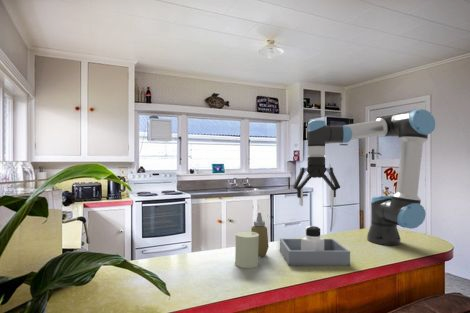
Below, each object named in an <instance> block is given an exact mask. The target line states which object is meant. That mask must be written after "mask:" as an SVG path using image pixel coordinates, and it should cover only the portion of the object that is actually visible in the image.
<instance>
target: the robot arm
mask: <svg viewBox="0 0 470 313" xmlns="http://www.w3.org/2000/svg"><path fill="white" fill-rule="evenodd" d="M306 127H307V131H306V132H307V167H302V166H301V167H299V168H300V169H299V174H298V175H297V178H296V180H295V181H294V183H293V185H292V189H295V190H296V194H297V195H296V197H297V198H298V200H299V204H298V205H299V206H301V207H303V206H304V190H303V188H304V187H305V186H306V185H307V183H308V182H309V180H311V179H315V178H316V179H317V178H319V179H321V178H322V179H323V180H324V182H325V183H326V184H327V185H328V186H329V187H330V189H329V205H330V206H334V205H335V198H336V197H337V194H336V193H337V190H338V189H340V188H341V185H340V182H339V181H338V180H337V176H335V173H334V168H333V167H331V166H329V167H326V157H325V156H326V144H343V143H349V142H350V141H352V140H357V139H365V138H370V137H379V138H384V137H398V140H399V141H400V143H401V146H400V154H399V164H398V171H397V173H398V174H397V181H396V191H395V193H393V194H392V195H373V196H372V197H371V201H370V204H371V205H370V207H371V208H370V209H371V210H370V212H371V213H370V215H371V217H370V226H369V229H368V232H367V234H366V235H367V236H366V240H367V241H368V242H370V243H374V244H377V243H378V244H377V245H382V244H384V246H398V245H401V236H400V233H399V229H398V228H397V227H398V226H400V227H401V228H404V229H405V228H406V229H417V228H419V227H420V226H421V225H422V224H423V223H424V222H425V219H426V214H427V213H426V209H425V208H424V206H423V205H421V202H422V201H421V200H422V199H421V198H420V197H419V195H418V194H419V193H418V192H419V183H420V177H421V176H420V174H421V164H422V157H423V148H424V147H423V146H424V143H425V142H427V141H428V136H429V135H430V134H432V132H434V131H435V130H436V119H435V117H434V115H432V113H431V112H430V111H428V110H427V109H425V108H424V109H423V108H422V109H421V108H420V109H413V110H409V111H403V112H396V113H394V114H392V115H387V116H384V117H378V118H377V119H376V120H372V121H366V122H359V123H358V122H357V123H351V124H344V125H327V124H326V121H325V120H321V119H319V120H318V119H316V120H315V119H313V120H310V121H308V123H307V126H306ZM306 172H307V175H306V176H305V177H304V174H305V173H306ZM326 172H327V173H328V175H329V177H330V179H331V180H330V179H329V177H328V176H327V174H326ZM303 177H304V179H303ZM302 179H303V180H302ZM301 180H302V181H301ZM332 182H333V183H332Z"/></svg>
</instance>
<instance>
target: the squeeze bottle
mask: <svg viewBox="0 0 470 313" xmlns="http://www.w3.org/2000/svg"><path fill="white" fill-rule="evenodd" d="M256 216H257V217H256V220H254V221H253V225H252V226H251V229H250V232H255V233H258V234H259V239H258V258H263V257H264V258H265V256H266V255H267V253H268V250H269V248H270V247H269V236H268V235H269V234H268V227H266V221H264V220H263V216H262V213H261V212H258V213H257V215H256Z"/></svg>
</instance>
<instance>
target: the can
mask: <svg viewBox="0 0 470 313" xmlns="http://www.w3.org/2000/svg"><path fill="white" fill-rule="evenodd" d="M234 235H235V253H234V254H235V255H234V256H235V259H234V260H235V261H234V265H235V266H236V267H239V268H242V269H252V268H256V267H258V266H259V257H258V239H259V234H258V233H255V232H251V231H248V230H247V231H237V232H235V234H234Z"/></svg>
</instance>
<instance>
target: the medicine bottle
mask: <svg viewBox="0 0 470 313" xmlns="http://www.w3.org/2000/svg"><path fill="white" fill-rule="evenodd" d="M304 234H305V235H304V237H303V238H300V239H301V251H324V239H325V238H321V228H320V227H318V226H315V225H308V226H306V227H305V233H304Z"/></svg>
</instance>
